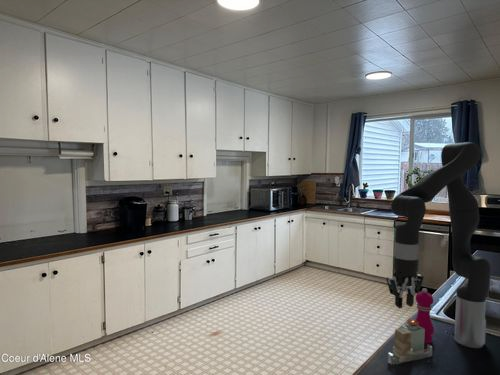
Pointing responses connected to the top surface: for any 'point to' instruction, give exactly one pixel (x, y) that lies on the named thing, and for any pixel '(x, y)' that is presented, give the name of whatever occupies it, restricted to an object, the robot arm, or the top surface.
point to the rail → (415, 355)
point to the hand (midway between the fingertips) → (404, 306)
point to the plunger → (412, 324)
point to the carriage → (402, 345)
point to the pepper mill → (425, 313)
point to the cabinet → (416, 338)
